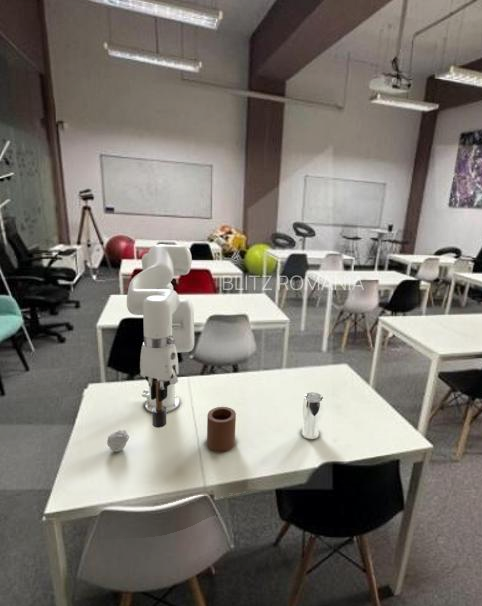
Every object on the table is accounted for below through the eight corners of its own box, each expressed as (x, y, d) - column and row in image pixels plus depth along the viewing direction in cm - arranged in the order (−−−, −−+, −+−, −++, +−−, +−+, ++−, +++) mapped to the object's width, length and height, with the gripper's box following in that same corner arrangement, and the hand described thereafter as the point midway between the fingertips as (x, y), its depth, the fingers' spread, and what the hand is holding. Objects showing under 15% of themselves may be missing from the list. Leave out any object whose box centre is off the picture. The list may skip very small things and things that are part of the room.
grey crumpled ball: (121, 458, 118) (120, 439, 116) (102, 453, 119) (101, 434, 118) (134, 447, 123) (133, 428, 122) (116, 442, 125) (115, 423, 123)
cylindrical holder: (201, 447, 126) (202, 418, 123) (215, 432, 134) (216, 404, 132) (226, 454, 123) (227, 425, 120) (239, 438, 132) (240, 410, 129)
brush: (149, 425, 111) (148, 382, 108) (158, 418, 115) (157, 376, 111) (160, 429, 110) (160, 386, 107) (169, 421, 114) (169, 379, 110)
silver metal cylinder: (321, 431, 139) (325, 394, 136) (316, 442, 133) (320, 404, 129) (303, 426, 141) (307, 390, 138) (298, 437, 135) (301, 399, 131)
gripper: (190, 340, 107) (189, 398, 112) (143, 330, 111) (145, 386, 116) (174, 350, 100) (174, 411, 105) (125, 339, 105) (127, 398, 109)
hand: (159, 398), depth 110 cm, fingers closed on brush
